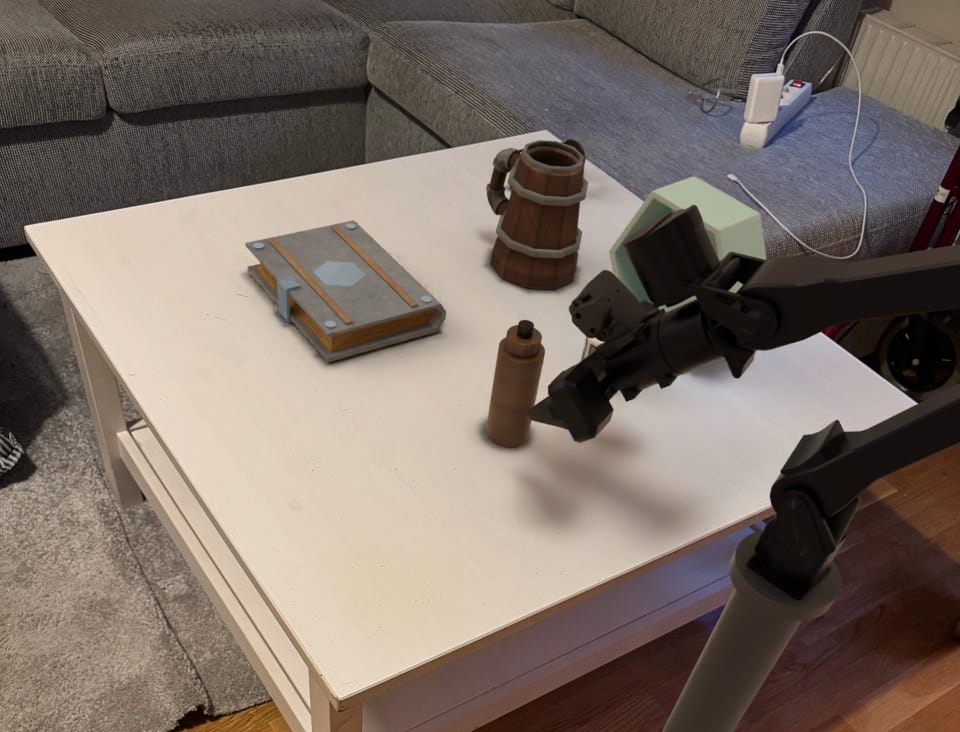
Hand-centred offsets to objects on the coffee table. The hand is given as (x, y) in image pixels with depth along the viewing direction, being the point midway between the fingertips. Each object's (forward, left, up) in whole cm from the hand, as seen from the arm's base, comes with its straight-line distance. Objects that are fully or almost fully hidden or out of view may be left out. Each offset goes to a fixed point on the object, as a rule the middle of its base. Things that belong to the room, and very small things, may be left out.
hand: (551, 394), depth 95 cm
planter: (+4, -30, -8) cm, 31 cm away
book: (+34, -1, -8) cm, 35 cm away
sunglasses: (+42, -48, -8) cm, 64 cm away
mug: (+28, -28, -8) cm, 40 cm away
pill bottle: (+4, -15, -8) cm, 17 cm away
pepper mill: (+4, +1, -7) cm, 8 cm away
